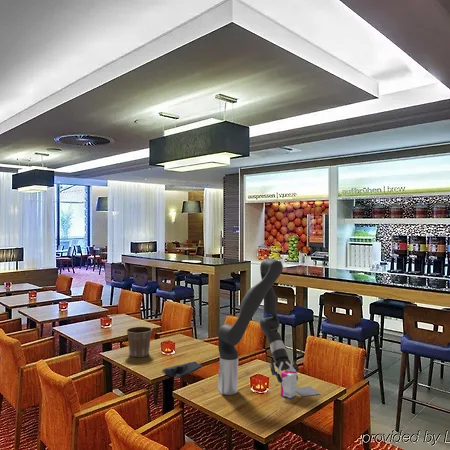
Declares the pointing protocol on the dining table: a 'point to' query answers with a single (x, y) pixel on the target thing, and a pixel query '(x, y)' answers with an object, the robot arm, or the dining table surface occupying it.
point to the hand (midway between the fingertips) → (288, 381)
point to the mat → (306, 391)
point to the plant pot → (139, 341)
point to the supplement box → (288, 384)
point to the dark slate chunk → (182, 369)
